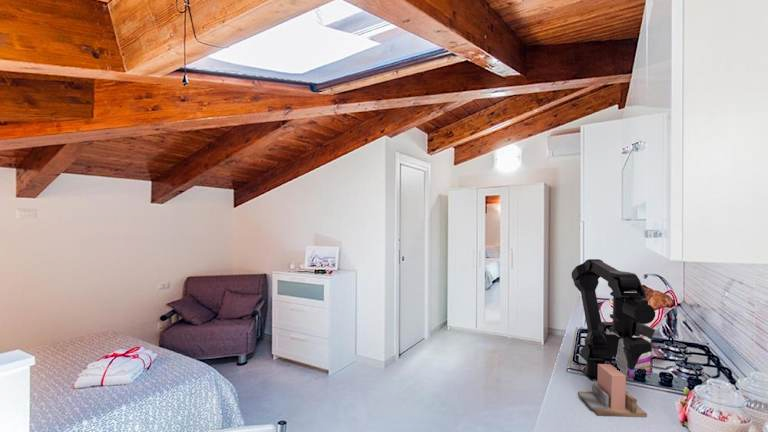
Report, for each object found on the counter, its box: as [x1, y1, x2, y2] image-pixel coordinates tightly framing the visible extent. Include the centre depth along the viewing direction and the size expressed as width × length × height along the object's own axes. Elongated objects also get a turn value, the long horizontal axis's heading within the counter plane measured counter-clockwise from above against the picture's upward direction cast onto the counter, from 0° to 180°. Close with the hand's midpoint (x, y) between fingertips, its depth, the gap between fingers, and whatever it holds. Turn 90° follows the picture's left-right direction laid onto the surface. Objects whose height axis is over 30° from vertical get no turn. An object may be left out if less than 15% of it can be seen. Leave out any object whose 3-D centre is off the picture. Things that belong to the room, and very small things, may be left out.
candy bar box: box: [616, 335, 653, 379], centre depth 135 cm, size 11×5×16 cm, turn 106°
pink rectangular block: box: [596, 363, 627, 409], centre depth 114 cm, size 8×4×10 cm, turn 177°
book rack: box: [577, 382, 648, 418], centre depth 114 cm, size 12×15×5 cm
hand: (622, 362), depth 116 cm, fingers open, 9 cm apart
